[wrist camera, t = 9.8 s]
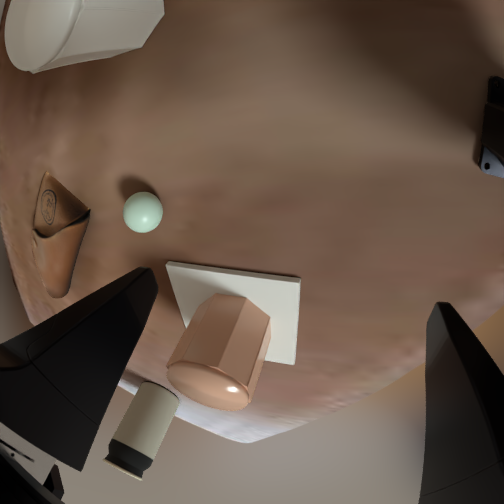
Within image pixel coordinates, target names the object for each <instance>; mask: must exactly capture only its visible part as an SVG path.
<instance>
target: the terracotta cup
mask: <svg viewBox="0 0 504 504" xmlns="http://www.w3.org/2000/svg"><path fill="white" fill-rule="evenodd" d="M270 318H271V317H270V316H268V315H267V314H266V313H265V312H263V311H262V310H261V309H260V308H258V307H257V306H256V305H255V304H254V303H252V302H251V301H250V300H249V299H247V298H244V297H238V296H231V295H224V294H218V293H215V294H214V295H212V296H211V297H210V298H208V299H207V300H206V301H204V302H203V303H202V304H200V305H199V306H198V308H197V310H196V312H195V314H194V315H193V317H192V319H191V321H190V323H189V325H188V326H187V328H186V330H185V332H184V334H183V336H182V337H181V339H180V341H179V343H178V345H177V347H176V349H175V350H174V352H173V354H172V356H171V358H170V360H169V362H168V364H167V365H166V367H167V368H168V371H167V379H168V381H169V382H170V383H171V385H172V386H173V387H174V388H175V389H176V390H178V391H179V392H180V393H182V394H183V395H185V396H186V397H188V398H190V399H191V400H193V401H195V402H198V403H200V404H202V405H205V406H208V407H211V408H215V409H219V410H226V411H237V410H241V409H244V408H245V407H246V406H247V403H251V400H252V397H253V394H254V391H255V388H256V385H257V382H258V379H259V375H260V372H261V369H262V366H263V362H264V359H265V356H266V353H267V349H268V346H269V343H270V339H271V323H270Z"/></svg>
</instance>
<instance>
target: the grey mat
mask: <svg viewBox="0 0 504 504" xmlns="http://www.w3.org/2000/svg"><path fill="white" fill-rule="evenodd" d="M166 268H167V272H168V275H169V278H170V281H171V284H172V288H173V291H174V294H175V297H176V300H177V303H178V306H179V309H180V312H181V315H182V318H183V321H184V324H185V326H186V328H187V326H188V325H189V323H190V321H191V319H192V317H193V315H194V314H195V312H196V310H197V308H198V306H199V305H200V304H202V303H203V302H204V301H206V300H207V299H208V298H210V297H211V296H212V295H214V294H215V293H218V294H224V295H231V296H238V297H244V298H247V299H249V300H250V301H251V302H252V303H254V304H255V305H256V306H257V307H258V308H260V309H261V310H262V311H263V312H265V313H266V314H267V315H268V316H270V317H271V318H270V323H271V339H270V343H269V346H268V349H267V353H266V356H265V359H264V360H267V361H273V362H279V363H285V364H291V365H294V363H295V356H296V343H297V330H298V315H299V299H300V280H301V278H295V277H287V276H278V275H270V274H262V273H254V272H246V271H238V270H231V269H223V268H216V267H208V266H201V265H193V264H186V263H179V262H172V261H168V262H167V264H166Z"/></svg>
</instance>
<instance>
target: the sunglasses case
mask: <svg viewBox="0 0 504 504" xmlns="http://www.w3.org/2000/svg"><path fill="white" fill-rule="evenodd" d="M89 218H90V209H88V207H86V206H85V205H84V204H83V203H82V202H81V201H80V200H79V199H77V198H76V197H75V196H74V195H73V194H72V193H71V192H69V191H68V190H67V189H66V188H65V187H64V186H63V185H62V184H61V183H59V182H58V181H57V180H56V179H55V178H54V177H52V176H51V175H50V174H49V173H48V172H47V171H46V172H45V175H44V177H43V180H42V183H41V187H40V191H39V195H38V201H37V207H36V213H35V221H34V229H32V235H31V242H32V253H33V256H34V258H35V260H36V265H37V269H38V272H39V274H40V277H41V280H42V282H43V285H44V287H45V288H46V290H47V292H48V294H49V295H50V296H51V297H53V298H62V297H64V296H65V295H66V294H67V293H68V291H69V288H70V284H71V278H72V274H73V270H74V266H75V263H76V259H77V256H78V252H79V249H80V246H81V243H82V240H83V237H84V234H85V232H86V228H87V225H88V222H89Z"/></svg>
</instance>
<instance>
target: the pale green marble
mask: <svg viewBox="0 0 504 504" xmlns="http://www.w3.org/2000/svg"><path fill="white" fill-rule="evenodd" d="M162 215H163V209H162V205H161V202H160V201H159V199H158V198H157V197H156V196H155V195H153V194H151V193H149V192H138V193H135V194H133V195H132V196H130V197H129V198H128V200H127V201H126V203H125V205H124V208H123V218H124V221H125V223H126V224H127V226H128V227H129V228H130V229H132V230H133V231H136V232H140V233H145V232H149V231H151V230H153V229H154V228H156V227H157V226H158V224H159V223H160V221H161V219H162Z"/></svg>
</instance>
